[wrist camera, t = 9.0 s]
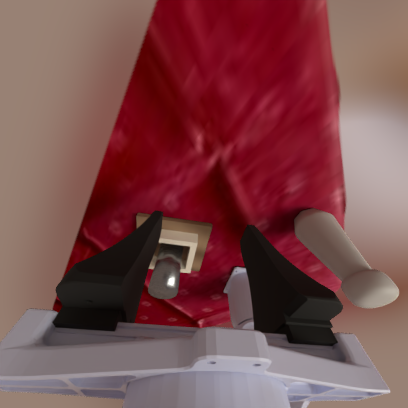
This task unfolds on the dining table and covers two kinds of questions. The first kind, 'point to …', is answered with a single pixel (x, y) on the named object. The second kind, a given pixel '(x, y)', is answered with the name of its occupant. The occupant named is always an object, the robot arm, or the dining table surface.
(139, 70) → the dining table surface
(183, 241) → the socket board
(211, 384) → the robot arm
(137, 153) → the dining table surface
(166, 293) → the peg
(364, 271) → the salt shaker
